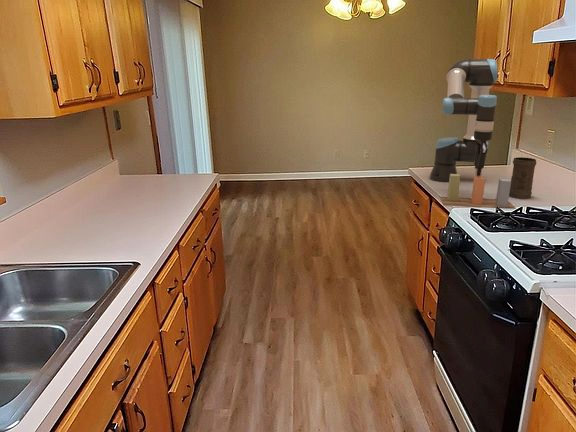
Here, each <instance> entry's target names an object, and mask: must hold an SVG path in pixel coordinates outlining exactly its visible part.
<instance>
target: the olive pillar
mask: <svg viewBox="0 0 576 432" xmlns="http://www.w3.org/2000/svg"><path fill="white" fill-rule="evenodd" d="M460 183H461V175H460V174H459V173H457V174H450V178H449V182H448V188H447V196H446V197H447V199H448V201H458V198H459V191H460Z"/></svg>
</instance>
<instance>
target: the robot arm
mask: <svg viewBox="0 0 576 432" xmlns="http://www.w3.org/2000/svg"><path fill="white" fill-rule="evenodd" d="M445 79H446V82H447V96H446V97H444V98H443V99H442V105H441V106H442V108H441V109H442V110H441V112H442V114H444V115H465V116H466V115H467V116H468V119H467V120H468V121H467V127H466V134H465V135H464V136H463V137H462V139H461V140H460V138H459V137H458V136H457V137H455V136H454V137H453V136H452V137H451V136H450V137H443V138H442V137H441V138H439V139H437V140H436V144H435V154H434V156H435V157H434V163H433V167H432V169H431V171H430V173H429V174H430V175H429V179H431V180H432V181H435V182H441V181H442V182H443V183H444V182H445V183H449V178H450V174H458V171H457V170H458V169H457V162H460V163H461V162H463V163H473V164H474V173H473V174H474V176H473V178H474V177H482V171H483V169H484V168H485V163H486V158H487V153H488V150H489V141H491V140H492V139H493V138H492V137H493V130H494V126H495V125H494V124H495V116H496V115H495V114H496V107H497V104H498V102H497V101H498V96H497V95H495V94H490V89H491V88H493V87H494V84H496V83H497V81H498V63H497V60H496V59H493V58H492V59H491V58H463V59H460V60H458V61H456V62H455V63H453V64H452V65H451V66H450V67H449V68H448V69H447V72H446V78H445ZM465 83H469V84H468V85H469V88H470V89H471V94H470V97H464V96H465V92H464V91H465V90H464V89H465Z"/></svg>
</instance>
